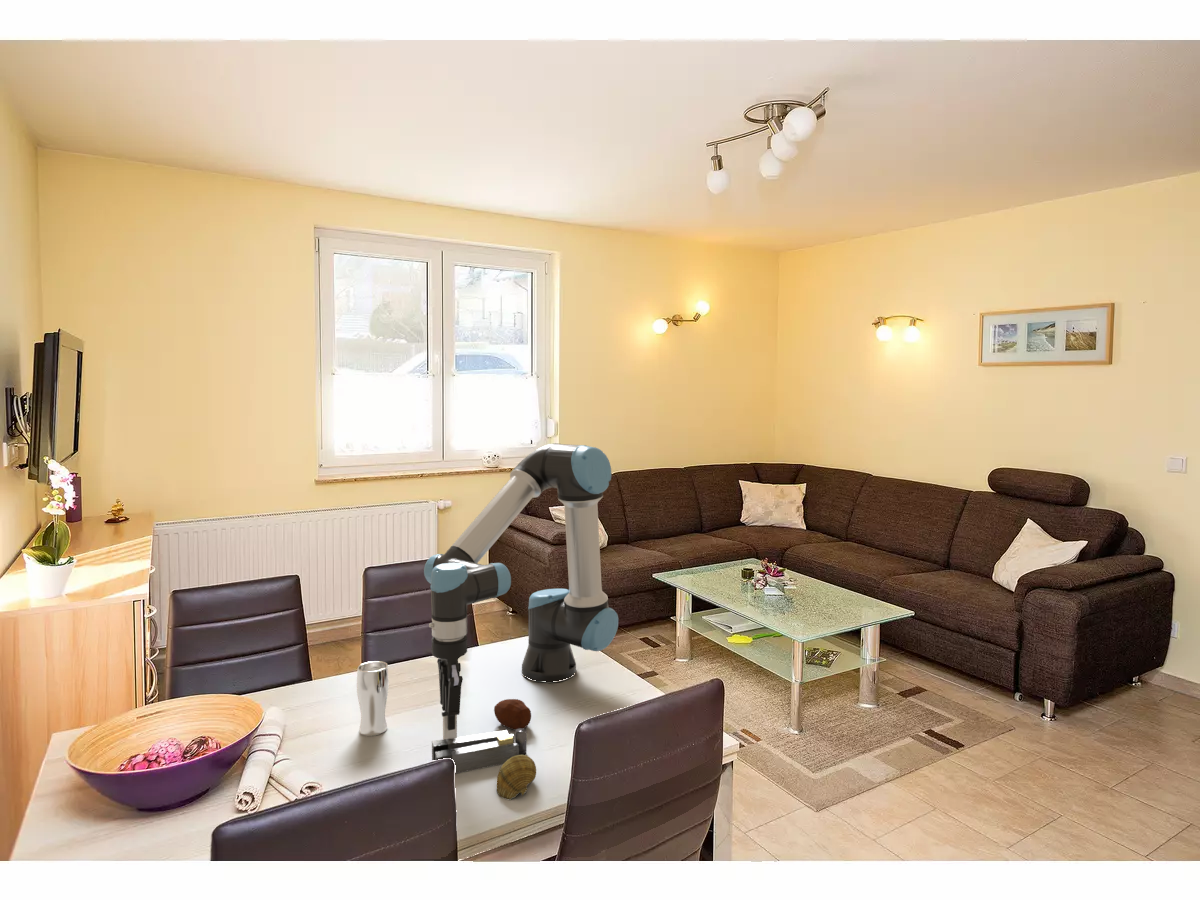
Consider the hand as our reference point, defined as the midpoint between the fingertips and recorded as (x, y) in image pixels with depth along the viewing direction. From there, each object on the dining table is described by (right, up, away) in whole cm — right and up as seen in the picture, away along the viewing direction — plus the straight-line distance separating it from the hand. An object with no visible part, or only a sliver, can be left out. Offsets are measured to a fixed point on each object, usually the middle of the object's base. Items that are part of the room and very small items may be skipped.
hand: (449, 741), depth 156 cm
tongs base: (+8, -2, -6) cm, 10 cm away
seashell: (+16, -3, -15) cm, 22 cm away
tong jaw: (+6, -2, -4) cm, 7 cm away
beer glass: (-19, -1, +8) cm, 21 cm away
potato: (+12, -1, +11) cm, 17 cm away
